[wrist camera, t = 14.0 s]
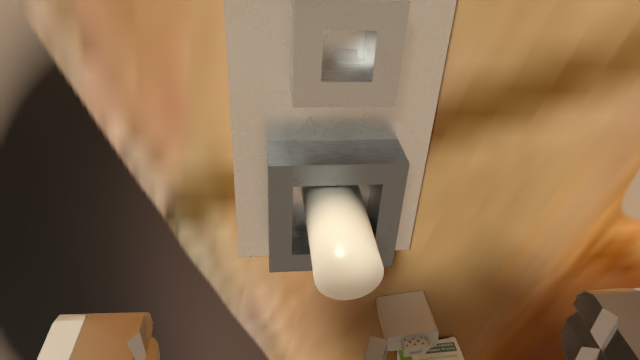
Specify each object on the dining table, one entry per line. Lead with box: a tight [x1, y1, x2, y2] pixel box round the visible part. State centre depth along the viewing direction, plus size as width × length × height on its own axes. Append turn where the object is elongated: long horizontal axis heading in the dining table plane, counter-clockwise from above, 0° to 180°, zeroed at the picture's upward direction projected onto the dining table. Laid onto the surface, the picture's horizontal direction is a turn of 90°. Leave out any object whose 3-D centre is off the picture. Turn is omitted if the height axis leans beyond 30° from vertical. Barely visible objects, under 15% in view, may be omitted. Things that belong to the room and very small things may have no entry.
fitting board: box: [224, 0, 457, 272], centre depth 31 cm, size 13×22×4 cm, turn 177°
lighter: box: [363, 291, 439, 360], centre depth 40 cm, size 7×2×8 cm, turn 95°
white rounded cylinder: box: [302, 185, 384, 300], centre depth 32 cm, size 4×4×8 cm
